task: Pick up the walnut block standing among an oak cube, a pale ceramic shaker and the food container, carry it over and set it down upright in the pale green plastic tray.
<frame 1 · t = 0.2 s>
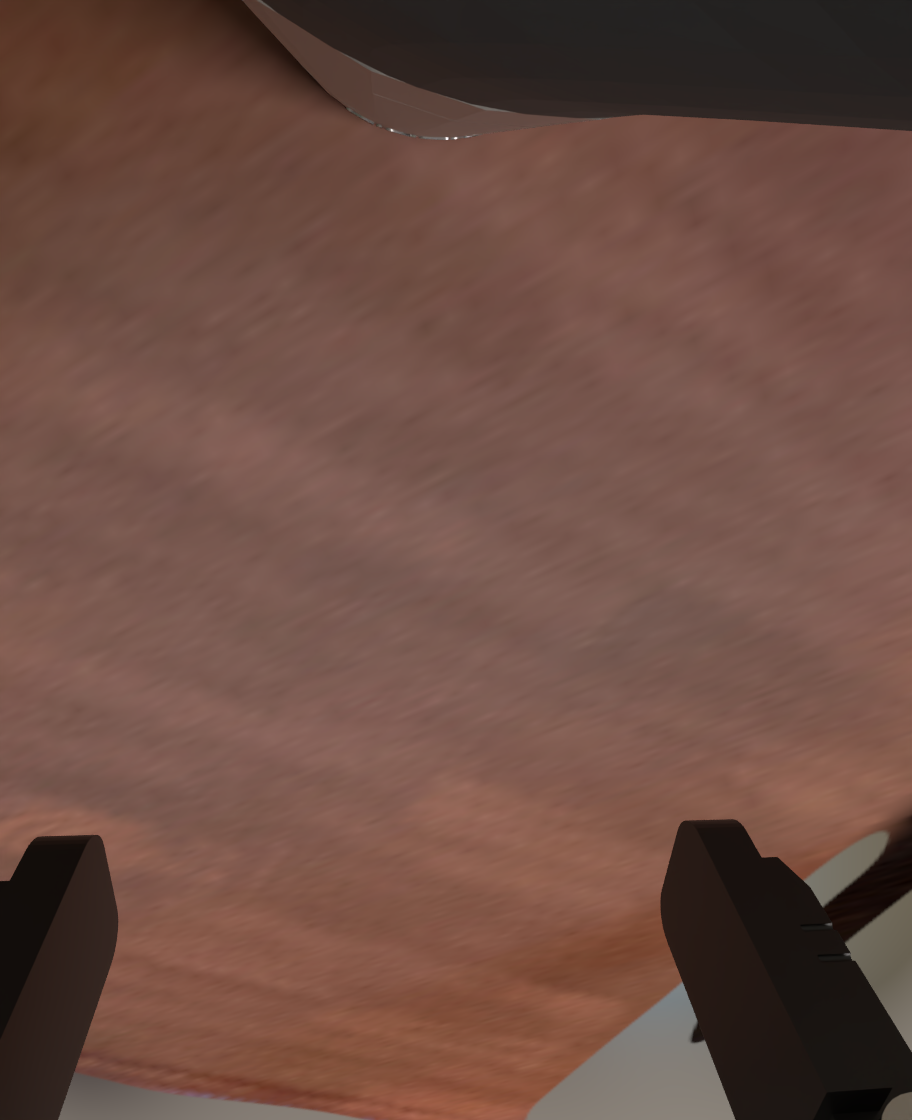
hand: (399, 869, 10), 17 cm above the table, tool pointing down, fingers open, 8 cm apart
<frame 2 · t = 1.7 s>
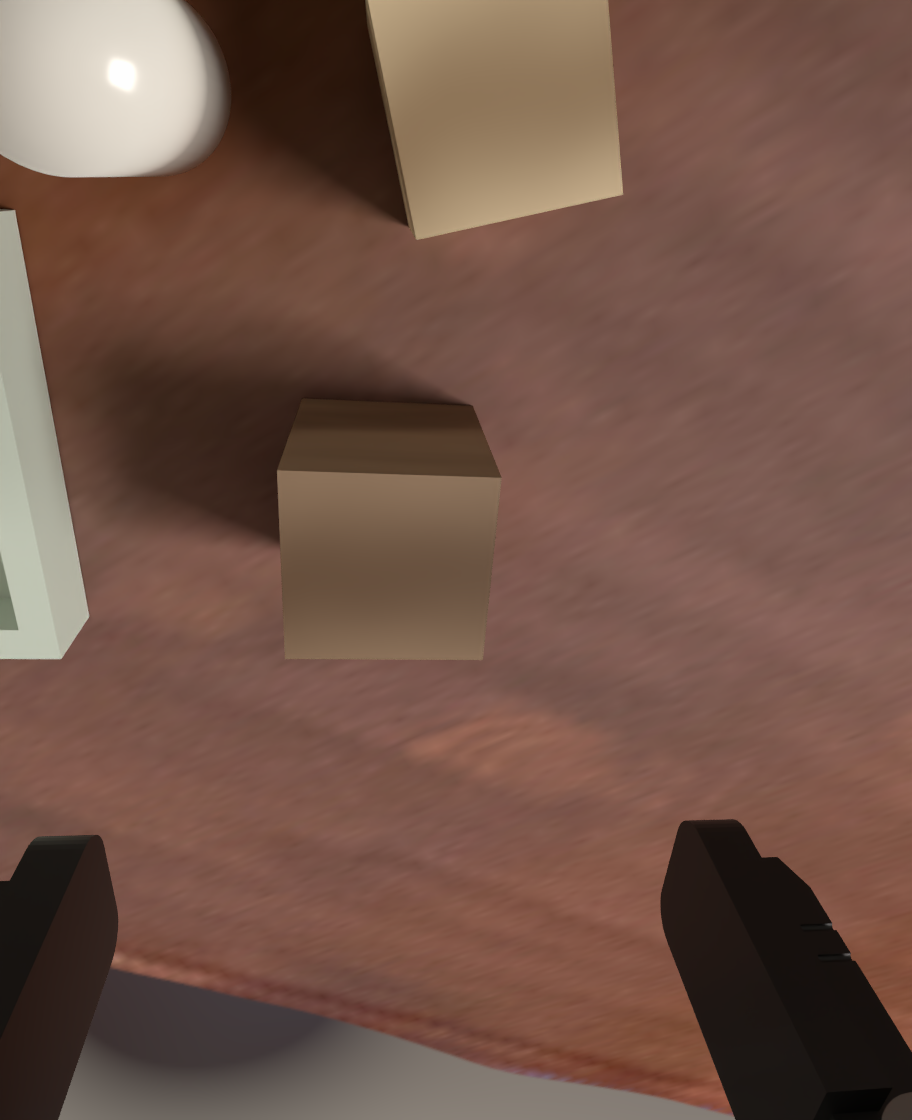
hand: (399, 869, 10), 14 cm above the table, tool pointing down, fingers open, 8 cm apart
walnut block: (386, 481, 23), on the table
oak cube: (476, 111, 19), on the table
ceramic shaker: (145, 82, 18), on the table
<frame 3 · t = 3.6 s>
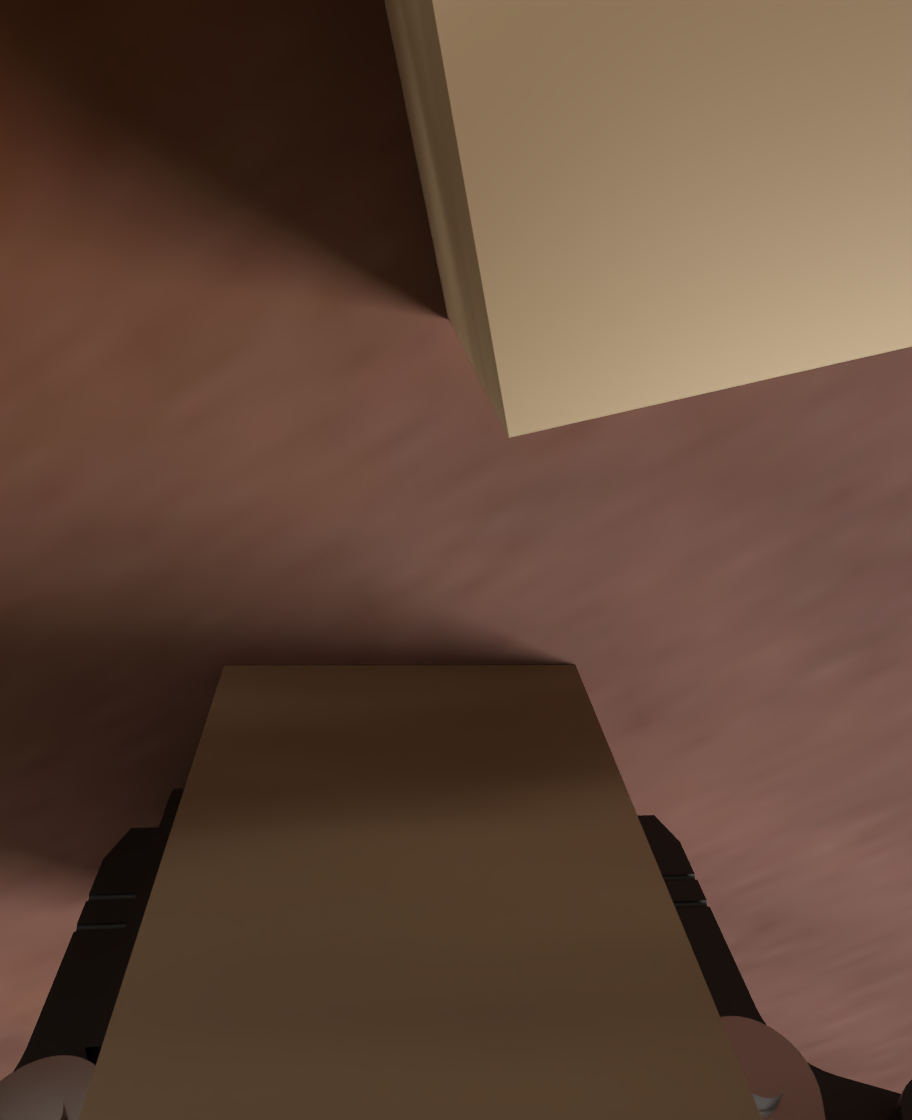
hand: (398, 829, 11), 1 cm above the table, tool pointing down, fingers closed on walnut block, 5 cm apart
walnut block: (399, 796, 12), on the table, touching gripper
oak cube: (618, 43, 8), on the table
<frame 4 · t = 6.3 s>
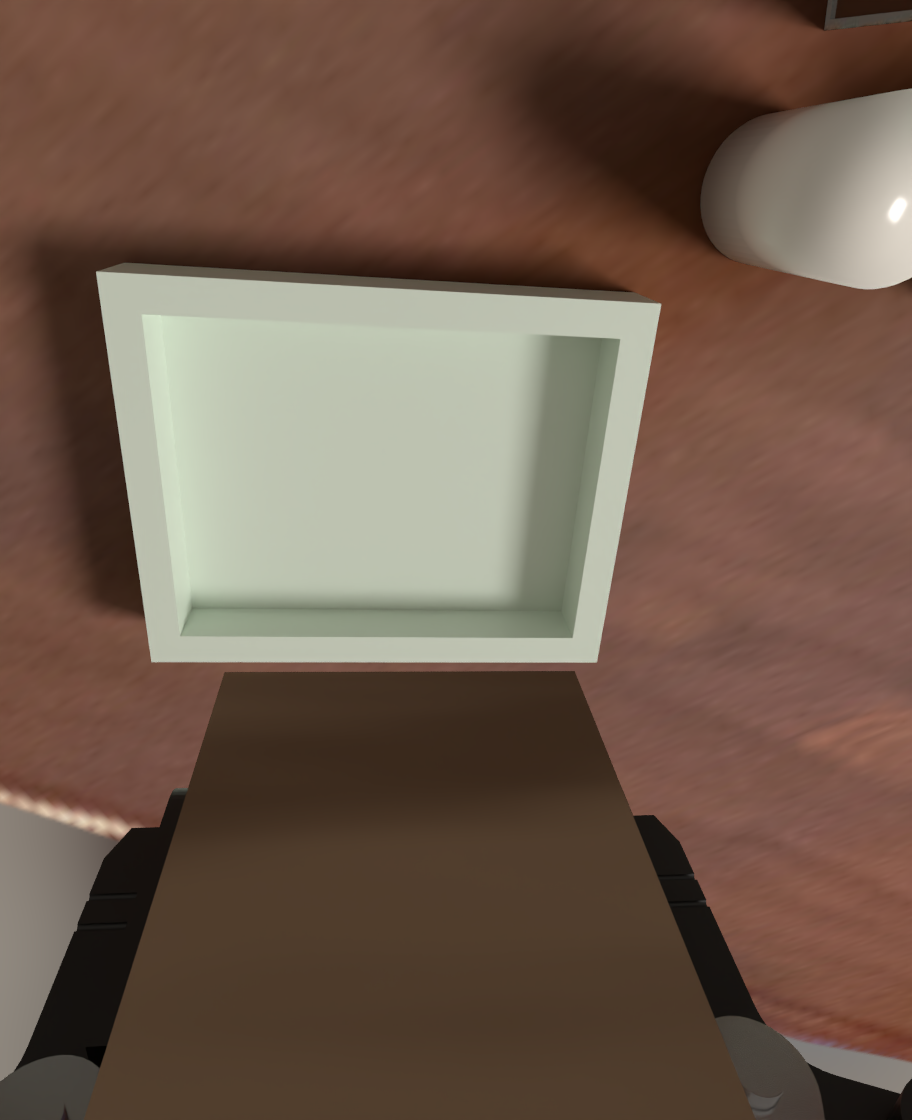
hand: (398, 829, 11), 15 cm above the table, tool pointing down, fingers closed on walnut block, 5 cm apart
walnut block: (399, 802, 12), point 15 cm above the table, touching gripper
tray: (384, 470, 25), on the table
ceramic shaker: (766, 191, 22), on the table
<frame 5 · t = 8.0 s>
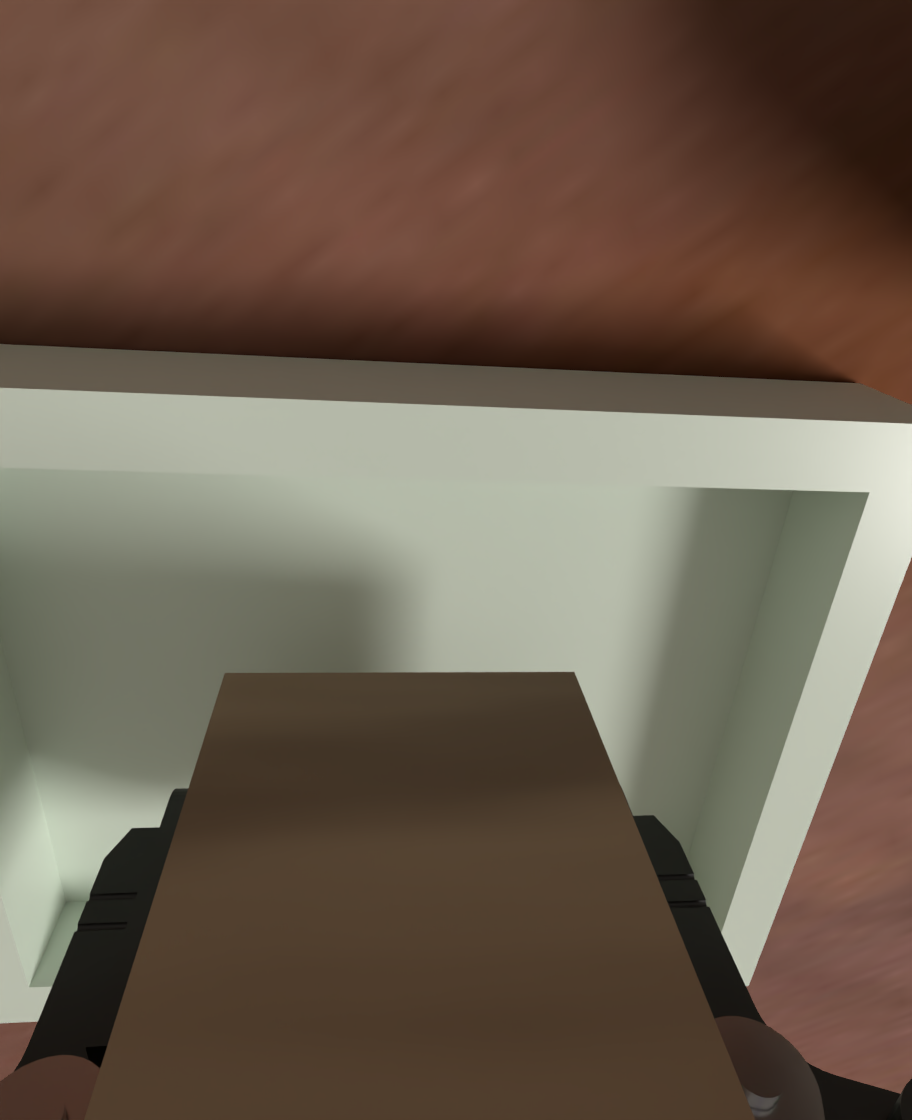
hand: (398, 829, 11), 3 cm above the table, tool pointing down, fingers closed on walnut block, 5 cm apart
walnut block: (399, 802, 12), point 3 cm above the table, touching gripper
tray: (393, 682, 14), on the table
when the fingers open (3 cm above the table, at t = 9.0 s): walnut block drops 1 cm, resting on tray.
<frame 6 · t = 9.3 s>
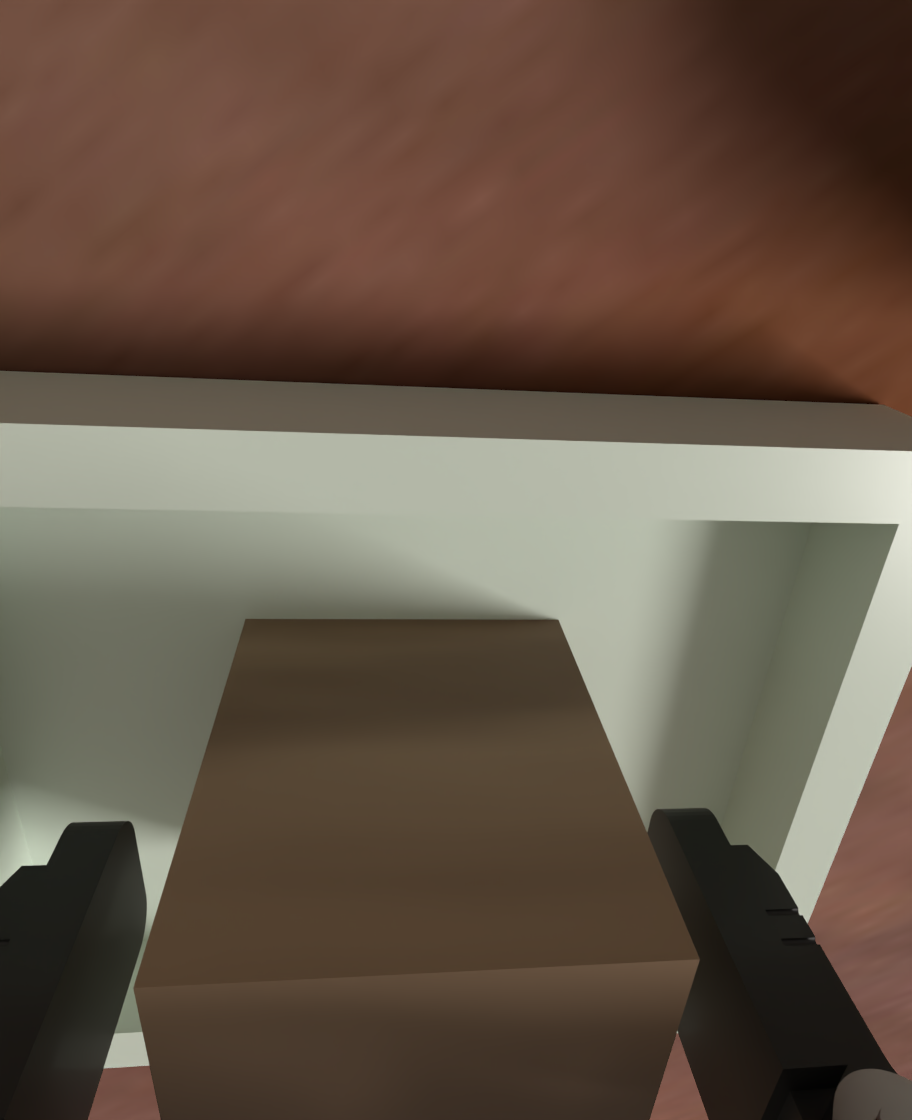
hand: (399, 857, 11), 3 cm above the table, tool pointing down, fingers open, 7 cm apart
walnut block: (401, 741, 13), point 1 cm above the table, touching tray
tray: (394, 715, 13), on the table
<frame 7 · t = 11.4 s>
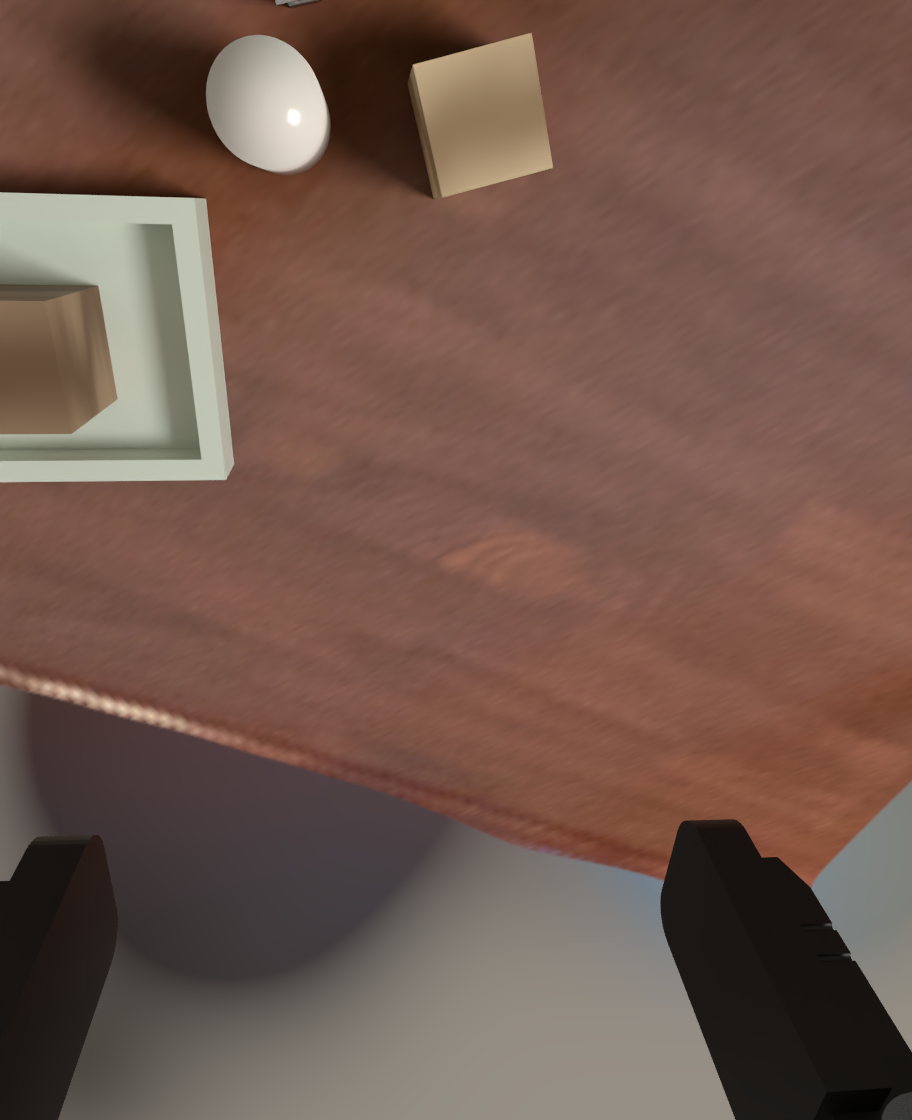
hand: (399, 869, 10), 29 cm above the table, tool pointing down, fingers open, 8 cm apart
walnut block: (50, 343, 33), point 1 cm above the table, touching tray
tray: (52, 339, 34), on the table
oak cube: (470, 129, 32), on the table
ceramic shaker: (283, 122, 31), on the table
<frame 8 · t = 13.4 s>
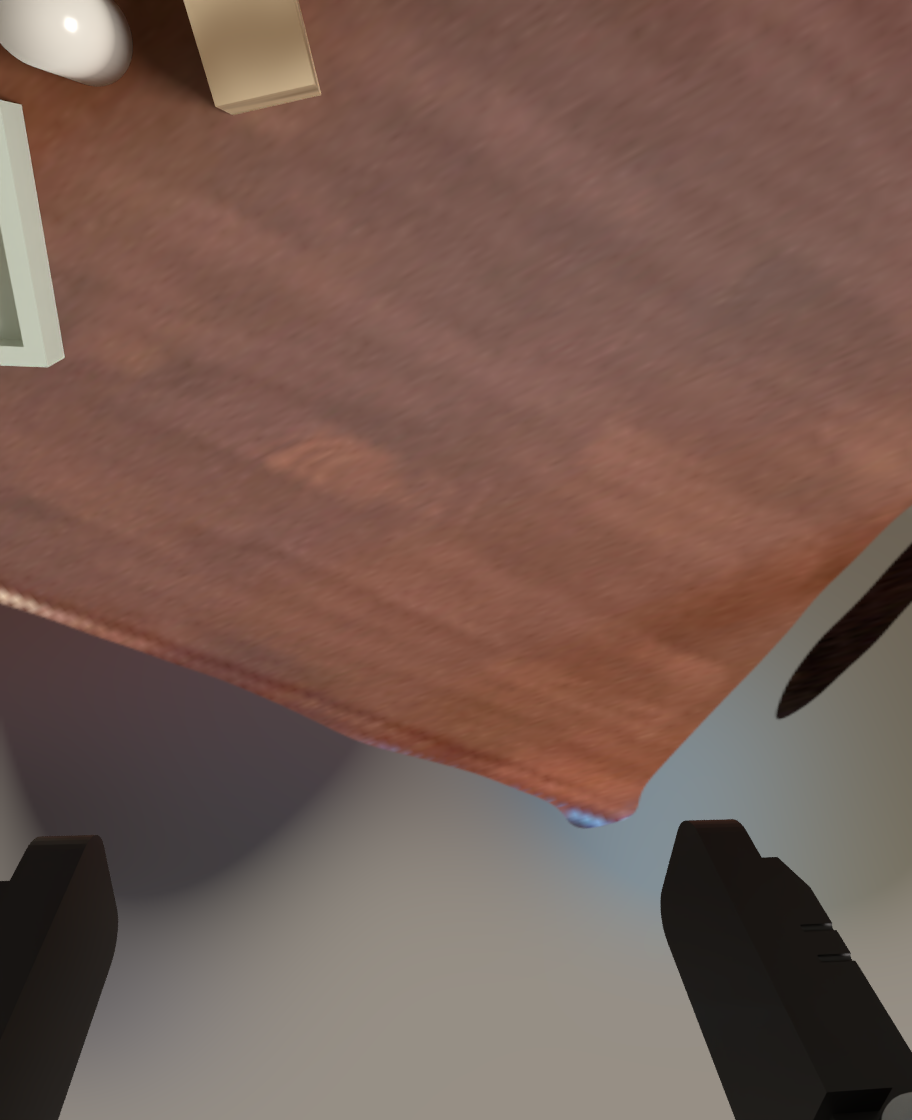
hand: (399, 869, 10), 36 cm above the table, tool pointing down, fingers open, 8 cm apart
oak cube: (262, 51, 36), on the table
ceramic shaker: (88, 36, 35), on the table
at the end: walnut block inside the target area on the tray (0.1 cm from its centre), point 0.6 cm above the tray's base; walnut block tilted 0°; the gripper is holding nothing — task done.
